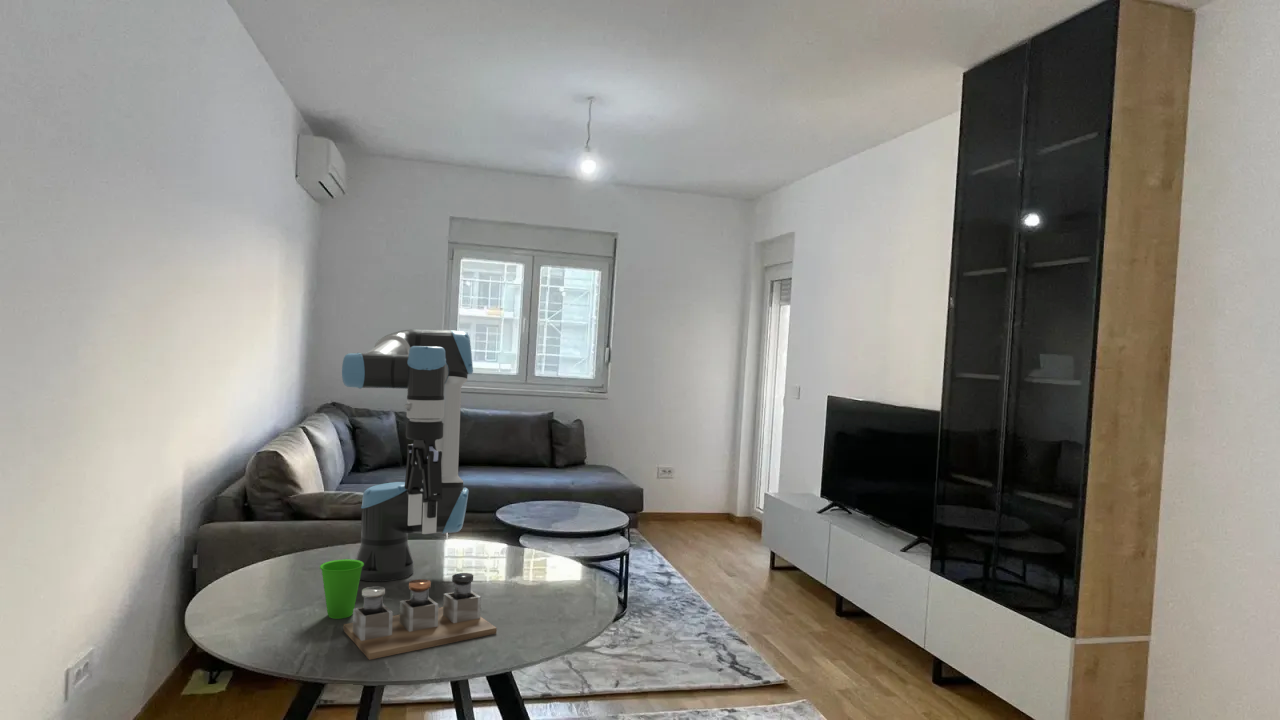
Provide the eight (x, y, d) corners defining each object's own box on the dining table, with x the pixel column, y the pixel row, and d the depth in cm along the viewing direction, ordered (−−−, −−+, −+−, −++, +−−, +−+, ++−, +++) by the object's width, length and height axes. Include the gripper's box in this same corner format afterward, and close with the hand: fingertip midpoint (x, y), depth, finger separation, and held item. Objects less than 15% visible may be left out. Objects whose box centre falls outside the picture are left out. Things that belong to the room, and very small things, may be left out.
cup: (371, 611, 168) (372, 562, 168) (342, 624, 159) (344, 572, 159) (338, 605, 171) (339, 557, 171) (308, 618, 162) (310, 567, 162)
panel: (343, 630, 156) (344, 602, 156) (462, 608, 171) (462, 583, 171) (369, 659, 141) (370, 628, 141) (496, 633, 157) (497, 605, 157)
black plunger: (448, 597, 163) (449, 574, 163) (467, 594, 166) (468, 572, 166) (456, 603, 160) (457, 580, 160) (475, 600, 162) (476, 577, 162)
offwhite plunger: (358, 613, 152) (359, 588, 152) (380, 609, 155) (381, 585, 155) (364, 619, 148) (365, 594, 148) (387, 615, 151) (388, 590, 151)
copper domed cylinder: (405, 605, 158) (405, 581, 158) (425, 601, 160) (426, 578, 160) (412, 611, 154) (413, 586, 154) (433, 607, 157) (433, 583, 157)
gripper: (390, 416, 163) (387, 521, 163) (425, 424, 147) (421, 541, 147) (424, 415, 168) (421, 517, 168) (461, 423, 151) (458, 537, 151)
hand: (421, 528), depth 157 cm, fingers open, 8 cm apart
